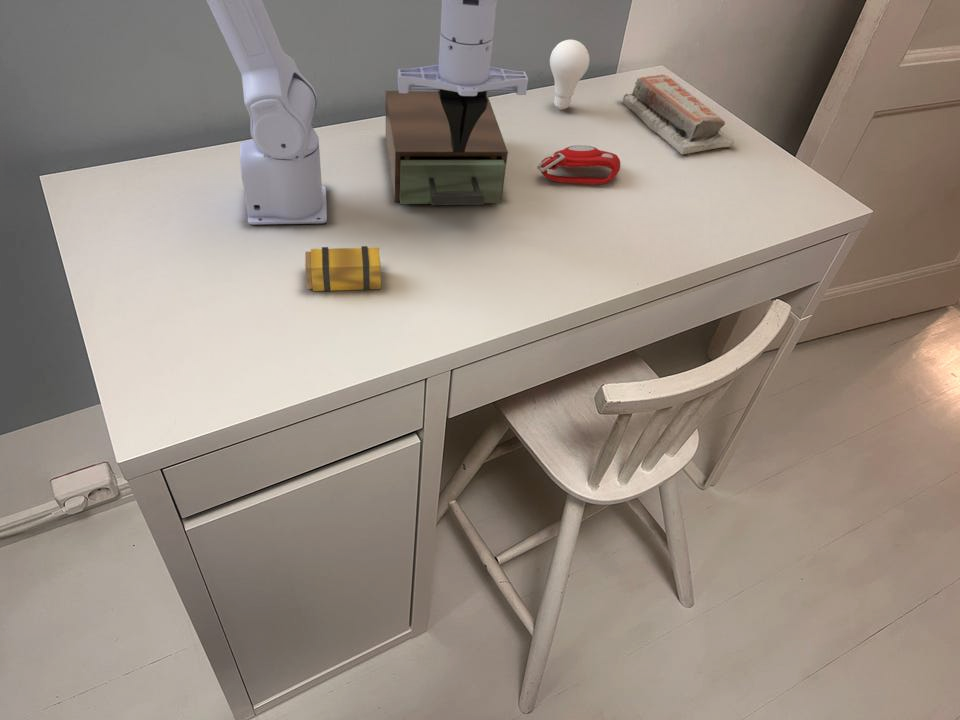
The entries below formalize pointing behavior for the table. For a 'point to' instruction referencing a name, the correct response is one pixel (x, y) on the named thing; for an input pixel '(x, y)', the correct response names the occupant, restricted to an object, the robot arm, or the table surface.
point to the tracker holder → (580, 163)
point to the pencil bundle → (343, 269)
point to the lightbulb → (567, 69)
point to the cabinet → (433, 132)
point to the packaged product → (676, 115)
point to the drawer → (451, 180)
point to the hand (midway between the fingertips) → (457, 148)
